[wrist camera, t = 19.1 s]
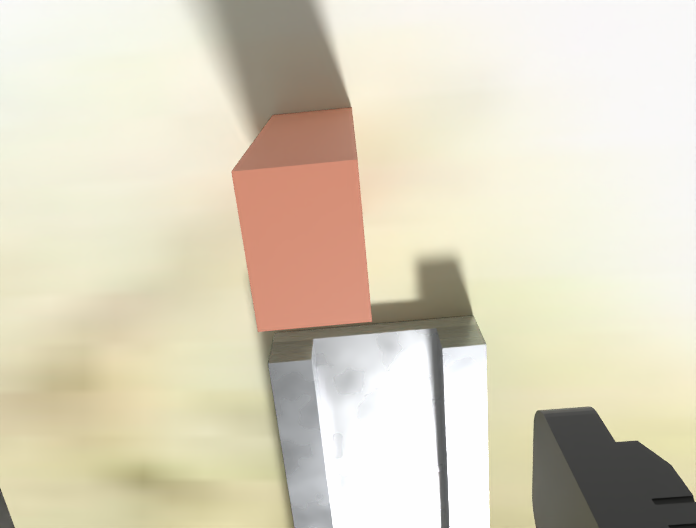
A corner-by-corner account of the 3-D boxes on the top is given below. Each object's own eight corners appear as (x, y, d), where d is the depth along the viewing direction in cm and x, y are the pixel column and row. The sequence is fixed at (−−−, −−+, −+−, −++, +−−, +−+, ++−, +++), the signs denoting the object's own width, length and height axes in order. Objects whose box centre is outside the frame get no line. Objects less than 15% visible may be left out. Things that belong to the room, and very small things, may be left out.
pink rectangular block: (351, 107, 27) (357, 159, 17) (361, 215, 29) (371, 321, 19) (272, 115, 28) (231, 171, 17) (287, 222, 29) (258, 331, 19)
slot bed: (473, 315, 31) (486, 344, 28) (478, 557, 37) (490, 601, 34) (274, 332, 31) (267, 363, 29) (311, 570, 37) (308, 615, 34)
